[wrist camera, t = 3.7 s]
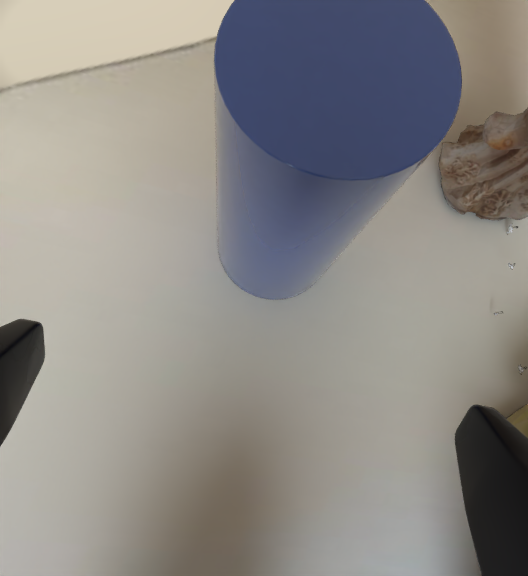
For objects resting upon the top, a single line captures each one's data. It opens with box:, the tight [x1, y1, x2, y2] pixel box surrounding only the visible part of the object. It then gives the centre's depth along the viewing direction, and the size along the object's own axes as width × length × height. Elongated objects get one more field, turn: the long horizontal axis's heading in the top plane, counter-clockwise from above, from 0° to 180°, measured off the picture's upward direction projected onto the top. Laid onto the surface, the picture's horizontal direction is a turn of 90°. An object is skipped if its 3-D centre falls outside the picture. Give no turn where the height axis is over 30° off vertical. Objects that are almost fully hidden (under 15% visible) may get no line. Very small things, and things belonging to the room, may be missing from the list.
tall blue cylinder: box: [214, 0, 462, 300], centre depth 18 cm, size 6×6×14 cm
